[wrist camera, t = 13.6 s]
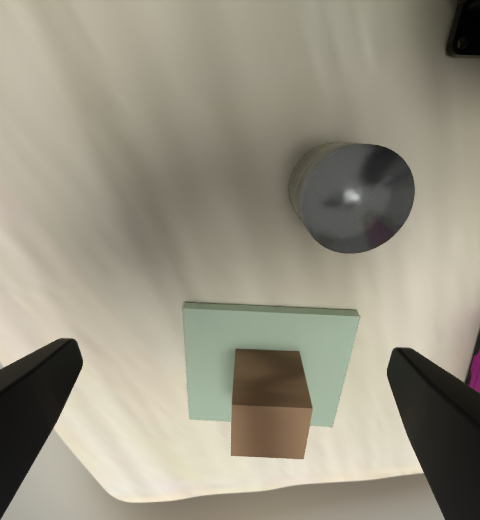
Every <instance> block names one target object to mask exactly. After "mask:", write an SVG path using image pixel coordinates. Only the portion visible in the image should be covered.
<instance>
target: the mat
mask: <svg viewBox="0 0 480 520" xmlns="http://www.w3.org/2000/svg"><path fill="white" fill-rule="evenodd" d="M359 320H360V315H359V314H358V312H357V310H339V309H317V308H296V307H274V306H252V305H230V304H208V303H186V302H185V303H184V306H183V324H184V340H185V357H186V373H187V389H188V405H189V419H191V420H210V421H228V422H231V415H232V392H233V378H234V363H235V349H259V350H284V351H300V356H301V360H302V364H303V368H304V373H305V377H306V381H307V385H308V390H309V394H310V398H311V403H312V407H313V411H312V416H311V422H310V426H323V427H333V424H334V420H335V416H336V412H337V408H338V404H339V400H340V396H341V392H342V388H343V384H344V380H345V376H346V372H347V368H348V364H349V360H350V356H351V352H352V348H353V344H354V340H355V336H356V332H357V328H358V324H359Z"/></svg>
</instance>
